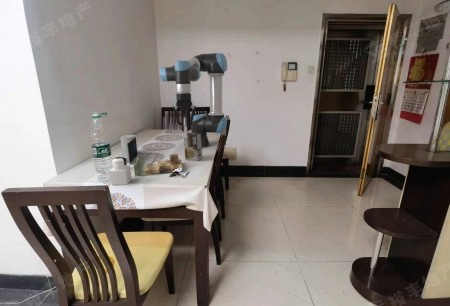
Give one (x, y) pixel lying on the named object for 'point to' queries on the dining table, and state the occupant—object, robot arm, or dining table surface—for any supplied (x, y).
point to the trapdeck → (154, 167)
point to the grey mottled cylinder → (124, 141)
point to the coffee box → (193, 147)
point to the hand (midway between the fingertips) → (185, 137)
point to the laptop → (133, 154)
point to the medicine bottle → (120, 171)
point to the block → (174, 159)
